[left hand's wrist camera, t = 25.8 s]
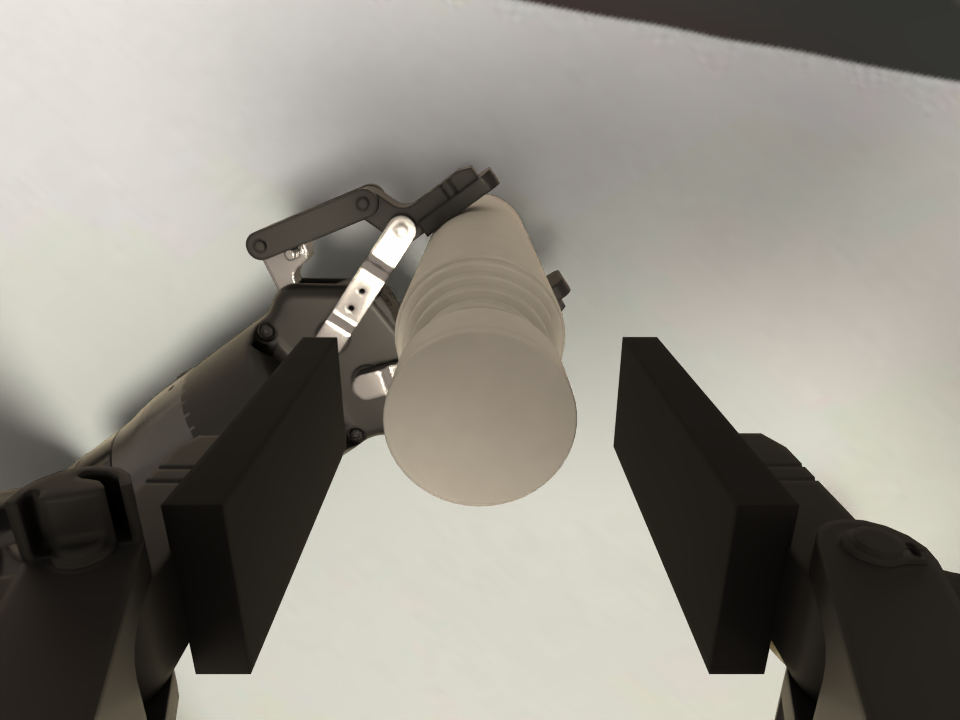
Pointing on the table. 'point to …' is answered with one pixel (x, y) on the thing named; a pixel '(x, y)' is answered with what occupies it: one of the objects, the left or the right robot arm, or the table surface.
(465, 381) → the cap
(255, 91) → the table surface
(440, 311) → the bottle
